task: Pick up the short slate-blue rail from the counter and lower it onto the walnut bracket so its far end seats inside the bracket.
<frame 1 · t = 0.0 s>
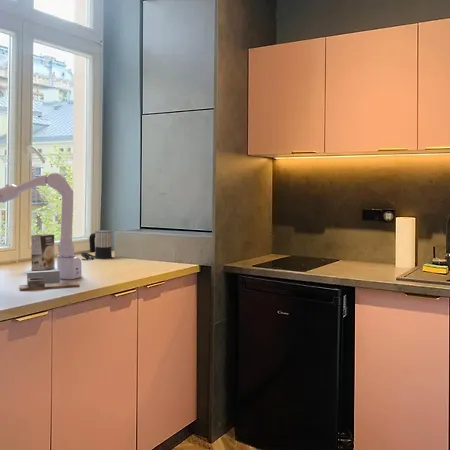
coffee box: (43, 269, 244), on the worktop
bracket: (51, 286, 200), on the worktop
milk frother: (96, 258, 283), on the worktop
rail: (43, 283, 207), on the worktop
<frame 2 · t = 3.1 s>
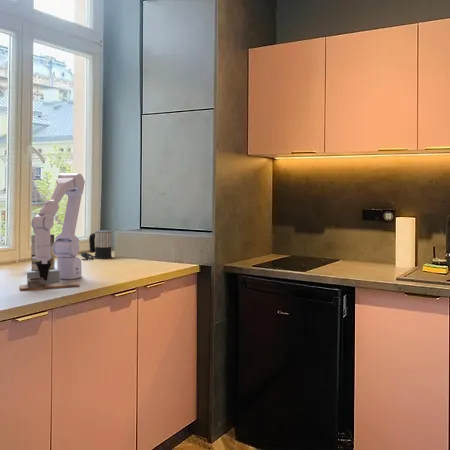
hand: (43, 279, 207), 1 cm above the worktop, tool pointing down, fingers closed on rail, 3 cm apart
rail: (43, 283, 207), on the worktop, touching gripper
everything else where it was.
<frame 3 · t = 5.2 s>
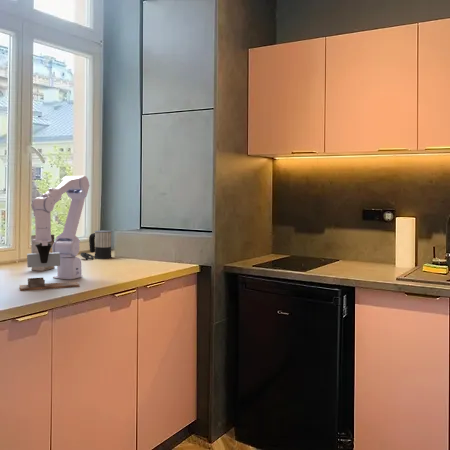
hand: (43, 262, 206), 8 cm above the worktop, tool pointing down, fingers closed on rail, 3 cm apart
rail: (43, 266, 206), point 7 cm above the worktop, touching gripper
everything else where it was.
when the fingers open (3 cm above the worktop, at t = 7.6 s): rail drops 1 cm, resting on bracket.
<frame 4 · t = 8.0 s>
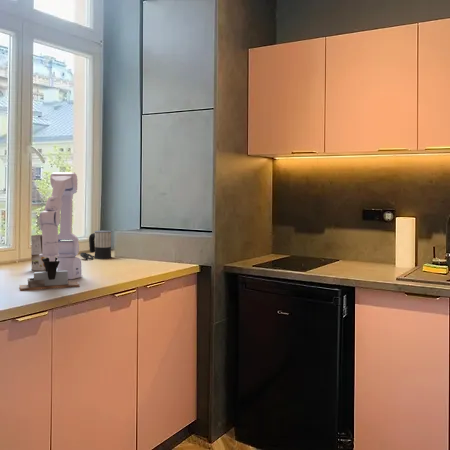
hand: (50, 278, 199), 3 cm above the worktop, tool pointing down, fingers open, 6 cm apart
rail: (50, 284, 199), point 1 cm above the worktop, touching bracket
everything else where it was.
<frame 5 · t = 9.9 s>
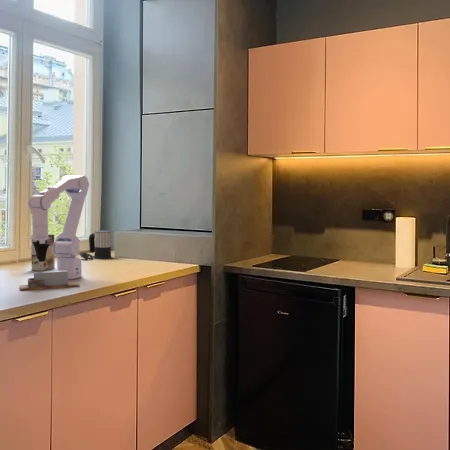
hand: (41, 260, 205), 9 cm above the worktop, tool pointing down, fingers open, 7 cm apart
nothing on the worktop moved.
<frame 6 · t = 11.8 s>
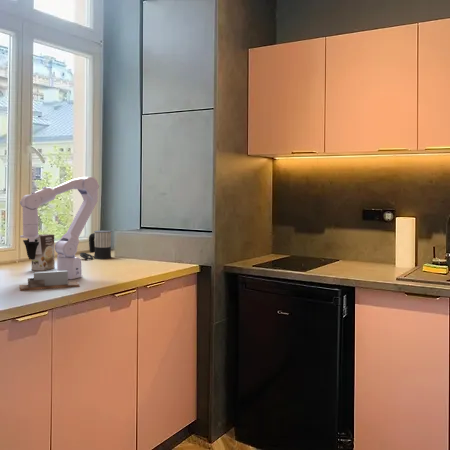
hand: (31, 258, 211), 9 cm above the worktop, tool pointing down, fingers open, 7 cm apart
at the end: rail 0.0 cm off-centre on the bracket, point 0.8 cm above the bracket's base; rail tilted 0°; the gripper is holding nothing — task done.
